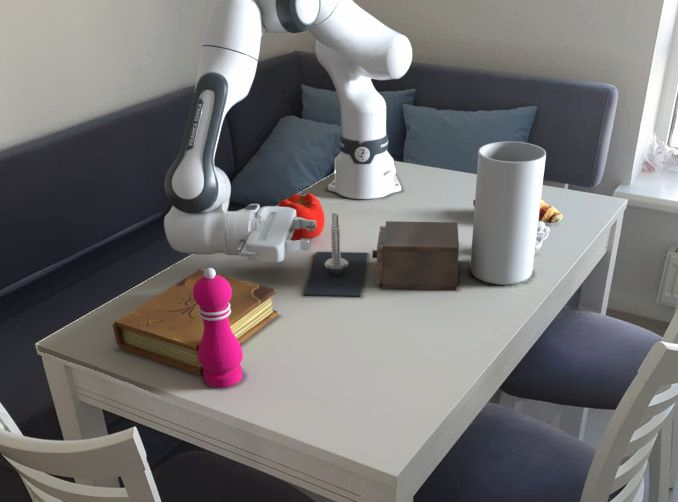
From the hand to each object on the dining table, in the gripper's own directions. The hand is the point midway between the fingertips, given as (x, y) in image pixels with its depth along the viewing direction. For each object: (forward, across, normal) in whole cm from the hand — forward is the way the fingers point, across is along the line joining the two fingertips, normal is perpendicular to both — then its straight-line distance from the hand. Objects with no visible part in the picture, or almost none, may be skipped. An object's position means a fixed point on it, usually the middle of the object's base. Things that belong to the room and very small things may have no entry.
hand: (312, 234), depth 160 cm
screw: (+5, 0, +8) cm, 10 cm away
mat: (+5, 0, +9) cm, 10 cm away
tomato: (-5, +19, +9) cm, 22 cm away
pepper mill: (-10, -40, +9) cm, 42 cm away
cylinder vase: (+38, +2, +9) cm, 39 cm away
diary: (-18, -25, +9) cm, 32 cm away
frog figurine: (+45, +12, +9) cm, 48 cm away
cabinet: (+22, 0, +9) cm, 23 cm away
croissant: (+44, +31, +9) cm, 54 cm away
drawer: (+19, 0, +8) cm, 21 cm away
